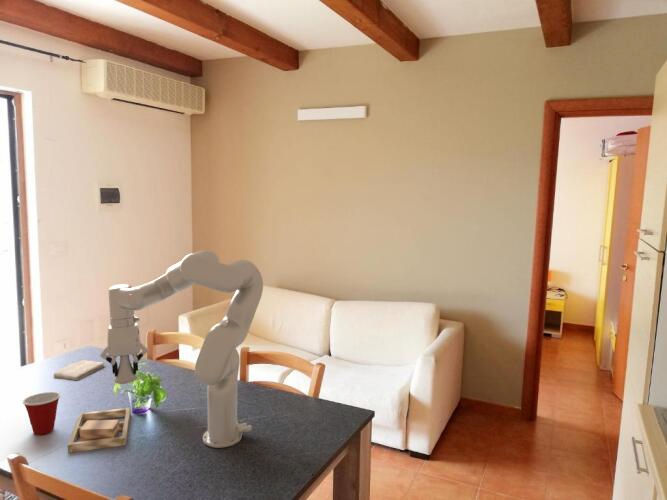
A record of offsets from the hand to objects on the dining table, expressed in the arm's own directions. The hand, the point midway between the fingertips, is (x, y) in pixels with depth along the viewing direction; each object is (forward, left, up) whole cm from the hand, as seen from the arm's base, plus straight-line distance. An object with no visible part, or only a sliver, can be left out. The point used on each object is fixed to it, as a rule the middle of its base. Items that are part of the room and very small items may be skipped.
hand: (125, 373), depth 167 cm
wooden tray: (+8, +3, -19) cm, 20 cm away
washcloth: (+23, -56, -19) cm, 64 cm away
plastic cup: (+26, -3, -19) cm, 32 cm away
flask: (0, 0, -3) cm, 3 cm away
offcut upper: (+7, +9, -16) cm, 20 cm away
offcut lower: (+8, +8, -19) cm, 22 cm away
